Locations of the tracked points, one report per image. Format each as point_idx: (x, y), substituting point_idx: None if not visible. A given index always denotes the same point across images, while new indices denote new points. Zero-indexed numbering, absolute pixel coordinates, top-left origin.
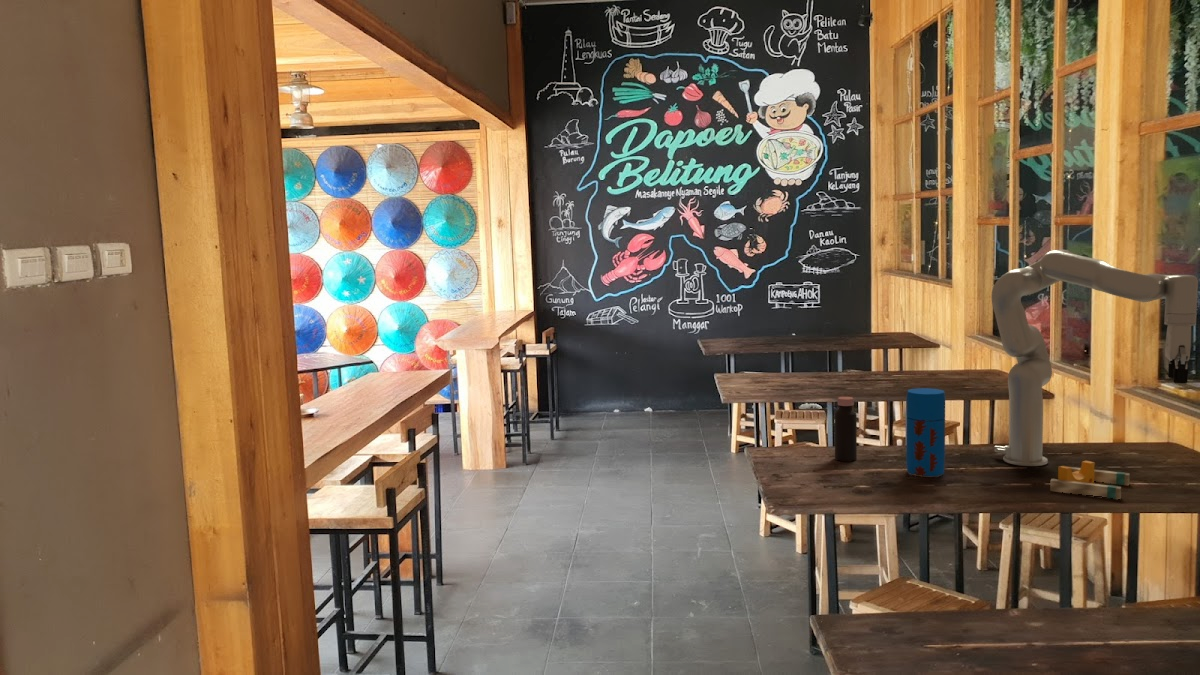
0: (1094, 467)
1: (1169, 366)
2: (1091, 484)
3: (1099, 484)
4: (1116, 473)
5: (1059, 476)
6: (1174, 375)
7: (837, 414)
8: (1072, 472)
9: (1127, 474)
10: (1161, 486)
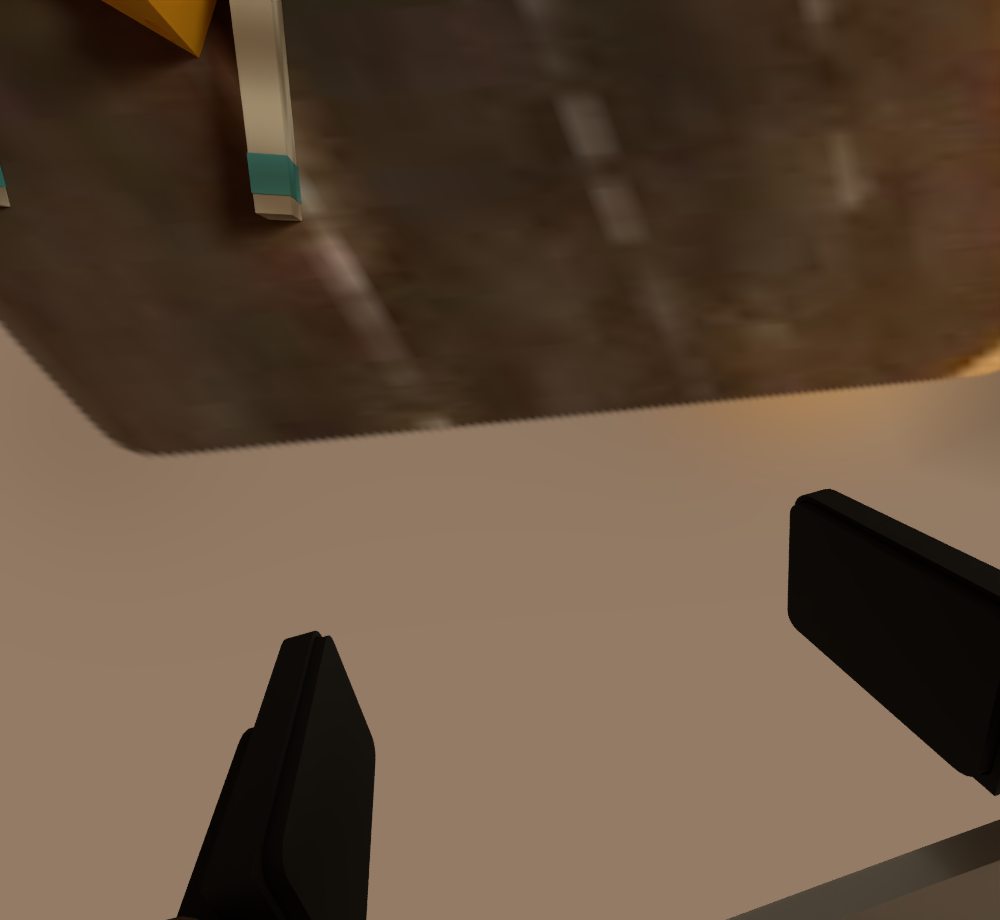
0: (159, 14)
1: (954, 595)
2: None
3: None
4: (253, 152)
5: None
6: (259, 736)
7: None
8: None
9: (264, 206)
10: (335, 343)
